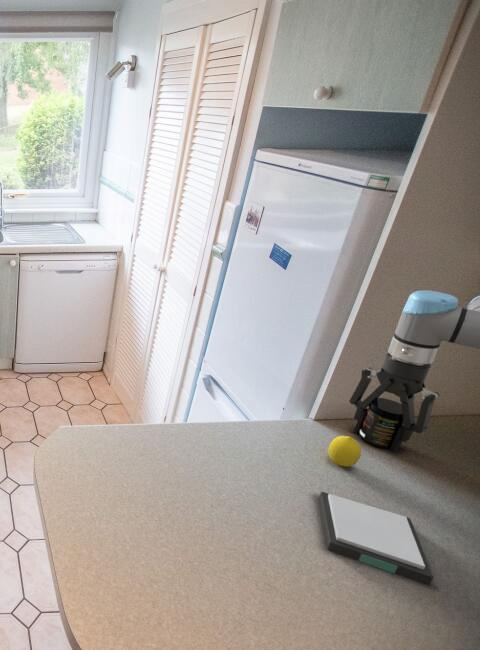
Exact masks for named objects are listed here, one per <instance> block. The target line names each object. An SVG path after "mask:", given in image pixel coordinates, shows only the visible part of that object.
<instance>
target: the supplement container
mask: <svg viewBox="0 0 480 650" xmlns="http://www.w3.org/2000/svg"><path fill="white" fill-rule="evenodd" d="M367 409H368V411H367V413H366V416H365V419H364V421H363V424H362V426H361V429H360V432H359V433H358V437H359V439H360V440H361V441H362V442H364V443H365V444H367V445H369V446H371V447H374V448H377V449H382V450H390V448H391V446H392V443H393V441H394V439H395V436H396V434H397V431H398V429H399V428H400V427H402V426H403V425H404V424H403V413H402V403H401V402H398V401H395V400H392V399H389V398H385V397H378V398H377V399H375V400H373V401H371V403H370V405H369V406H368V407H367Z"/></svg>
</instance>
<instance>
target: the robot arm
mask: <svg viewBox="0 0 480 650" xmlns="http://www.w3.org/2000/svg"><path fill="white" fill-rule="evenodd" d="M443 341H444V342H448V343H452V344H456V345H461V346H465V347H469V348H474V349H477V350H480V295H478V296H476V297H474V298H473V299H472V300H471V301H470V302H469V303H468V304H467V306H466V308H465V307H462V306H461V307H460V306H459V299H458V298H457V297H456V296H454V295H452V294H448V293H443V292H441V291H436V290H425V289H424V290H416V291H414V292H412V293H411V294H409V296H408V299H407V301H406V302H405V305H404V307H403V310H402V312H401V315H400V318H399V319H398V323H397V325H396V329H395V331H394V334H393V335H392V338H391V342H390V343H389V344H390V345H389V346H388V350H387V352H388V353H386V354H385V357H384V359H383V362H382V365H381V368H380V369H379V370H377V369H374V368H372V367H366V368H365V369H362V370H361V378H360V380H359V382H358V384H357V386H356V387H355V390H354V391H353V393H352V395H351V397H350V398H349V404H350V405H354V406H355V407H356V411H355V413H354V416H353V420H354V421H357V422H356V424H355V426H354V429H353V434H355V435H359V432H360V429H361V426H362V424H363V421H364V419H365V416H366V413H367V411H368V408H369V405H370V403H371V401H373V400H375V399H377V398H380V397H381V396H382V395H383V394H384V393H385V392H386V393H388V394H393V395H394V396H396V397H399V403H400V404H402V413H403V426H402V427H400V428H399V429H398V431H397V434H396V436H395V439H394V441H393V443H392V446H391V448H390V449H389V451H390V452H392V453H394V452H397V451H398V450H399V449H400V447H401V445H402V443H407V442H408V441H409V440H410V439H411V437H412V435H413V432H415V433H417V434H422V433H423V432H425V431H427V429H428V426H429V422H430V418H431V415H432V412H433V407H434V404H435V402H436V401H437V400H438V398H439V397H440V396H441V395H440V393H439V392H437V391H431V390H430V389H428V388H426V385H425V381H426V378H427V377H428V375H429V372H430V369H431V365H432V363H433V362H434V360H435V358H436V355H437V353H438V350H439V348H440V345H441V343H442V342H443ZM374 378H377V380H378V382H379V384H380V385H378V386H377V387H376V388H375V390H373V391H372V392H371V393H370V394H369V395H367V396H366V398H365V399H363V400H362V398H363V396H364V394H365V393H366V391H367V389H368V388H369V386H370V384H371V382H372V379H374ZM418 393H421V399H422V402H421V404H420V408H419V412H418V416H417V419H416V413H415V403H414V401H415V394H418Z"/></svg>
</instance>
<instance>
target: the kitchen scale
mask: <svg viewBox="0 0 480 650" xmlns="http://www.w3.org/2000/svg"><path fill="white" fill-rule="evenodd" d="M317 498H318V502H319V503H318V504H319V510H320V515H321V521H322V527H323V533H324V539H325V545H326V550H327V551H330V552H333V553H336V554H339V555H342V556H344V557H347V558H350V559H352V560H356V561H358V562H361V563H363V564H366V565H368V566H372V567H375V568H377V569H381V570H383V571H387V572H389V573H392V574H396V575H399V576H402V577H405V578H407V579H411V580H413V581H416V582H419V583H422V584H425V585H427V586H430V584H431V582H432V581H433V579H434V576H433V574H432V570H431V568H430V565H429V563H428V560H427V558H426V555H425V553H424V550H423V548H422V545H421V543H420V540H419V537H418V535H417V533H416V530H415V527H414V525H413V522H412V519H411V518H410V517H407V516H404V515H401V514H398V513H394V512H392V511H388V510H385V509H381V508H378V507H374V506H372V505H368V504H365V503H362V502H358V501H355V500H352V499H348V498H345V497H341V496H338V495H335V494H332V493H327V492H325V491H320V494H319V495H318V497H317Z"/></svg>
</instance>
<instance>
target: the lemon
mask: <svg viewBox="0 0 480 650" xmlns="http://www.w3.org/2000/svg"><path fill="white" fill-rule="evenodd" d="M327 452H328V456H329V458H330V460H331V461H332V462H333V463H335V464H336V465H338V466H341V467H351V466H354V465H356V464H357V463H358V462H359V460H360V459H361V456H362V448H361V445H360V443H359V442H358V441H357V440H356V439H354V438H353V437H351V436H347V435H339V436H337V437H335V438H333V440H332V441H331V442H330V444H329V446H328V450H327Z"/></svg>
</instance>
